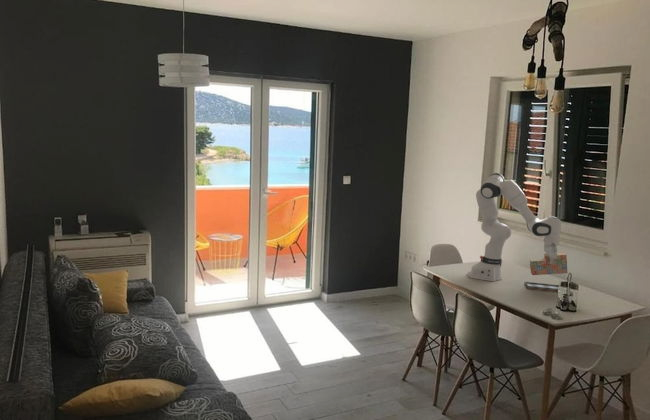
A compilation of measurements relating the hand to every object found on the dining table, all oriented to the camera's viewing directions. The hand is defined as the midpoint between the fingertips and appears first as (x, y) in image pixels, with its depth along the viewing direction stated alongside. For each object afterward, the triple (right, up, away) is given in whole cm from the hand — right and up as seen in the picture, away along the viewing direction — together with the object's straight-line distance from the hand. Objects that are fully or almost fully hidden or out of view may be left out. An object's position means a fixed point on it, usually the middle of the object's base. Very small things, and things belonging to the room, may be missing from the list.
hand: (549, 262), depth 349 cm
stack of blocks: (0, -7, +1) cm, 7 cm away
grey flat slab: (-1, -17, +3) cm, 18 cm away
